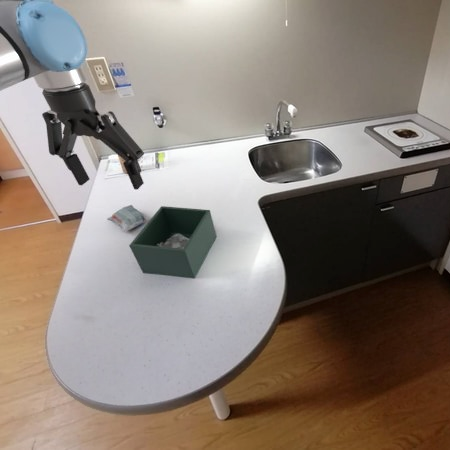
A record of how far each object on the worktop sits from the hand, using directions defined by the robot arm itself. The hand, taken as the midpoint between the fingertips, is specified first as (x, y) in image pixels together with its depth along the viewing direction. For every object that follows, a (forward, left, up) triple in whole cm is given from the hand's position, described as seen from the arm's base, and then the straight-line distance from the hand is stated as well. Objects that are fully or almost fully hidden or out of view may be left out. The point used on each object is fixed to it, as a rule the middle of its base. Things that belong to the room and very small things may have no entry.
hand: (111, 184), depth 70 cm
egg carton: (+6, +7, -28) cm, 30 cm away
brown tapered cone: (-38, +52, -29) cm, 71 cm away
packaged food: (-18, +18, -29) cm, 39 cm away
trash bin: (+6, +7, -29) cm, 30 cm away
